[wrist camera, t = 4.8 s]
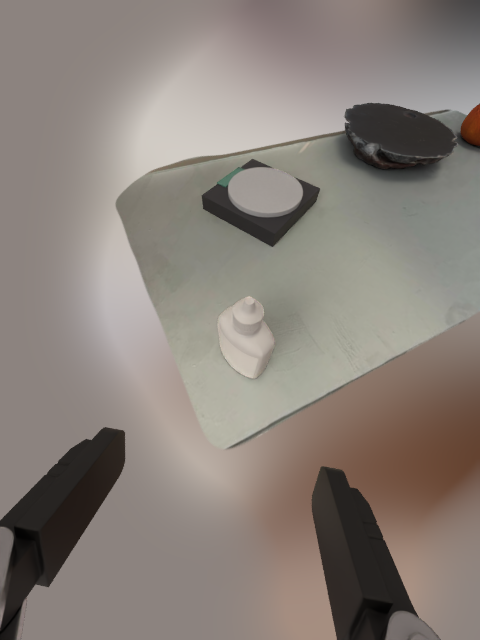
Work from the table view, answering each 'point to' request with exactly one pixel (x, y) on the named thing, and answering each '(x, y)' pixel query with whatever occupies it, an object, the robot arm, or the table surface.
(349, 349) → the table surface
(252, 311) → the eye dropper bottle
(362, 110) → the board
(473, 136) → the fruit
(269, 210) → the scale
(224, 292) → the table surface
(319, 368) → the table surface
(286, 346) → the table surface
